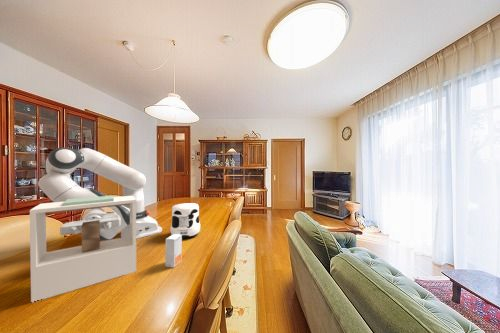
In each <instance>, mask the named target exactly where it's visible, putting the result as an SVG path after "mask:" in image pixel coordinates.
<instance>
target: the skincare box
mask: <svg viewBox="0 0 500 333" xmlns="http://www.w3.org/2000/svg"><path fill="white" fill-rule="evenodd" d="M182 241H183V238H182V235H180V234H173V235H170V236H168V237H166V238H165V258H164V259H165V262H164V263H165V264H164V265H165V268H176V266H177V265H178V264H180V262H182V260H183V259H182V256H183V255H182V250H183V247H182V246H183V245H182V244H183V242H182Z"/></svg>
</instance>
